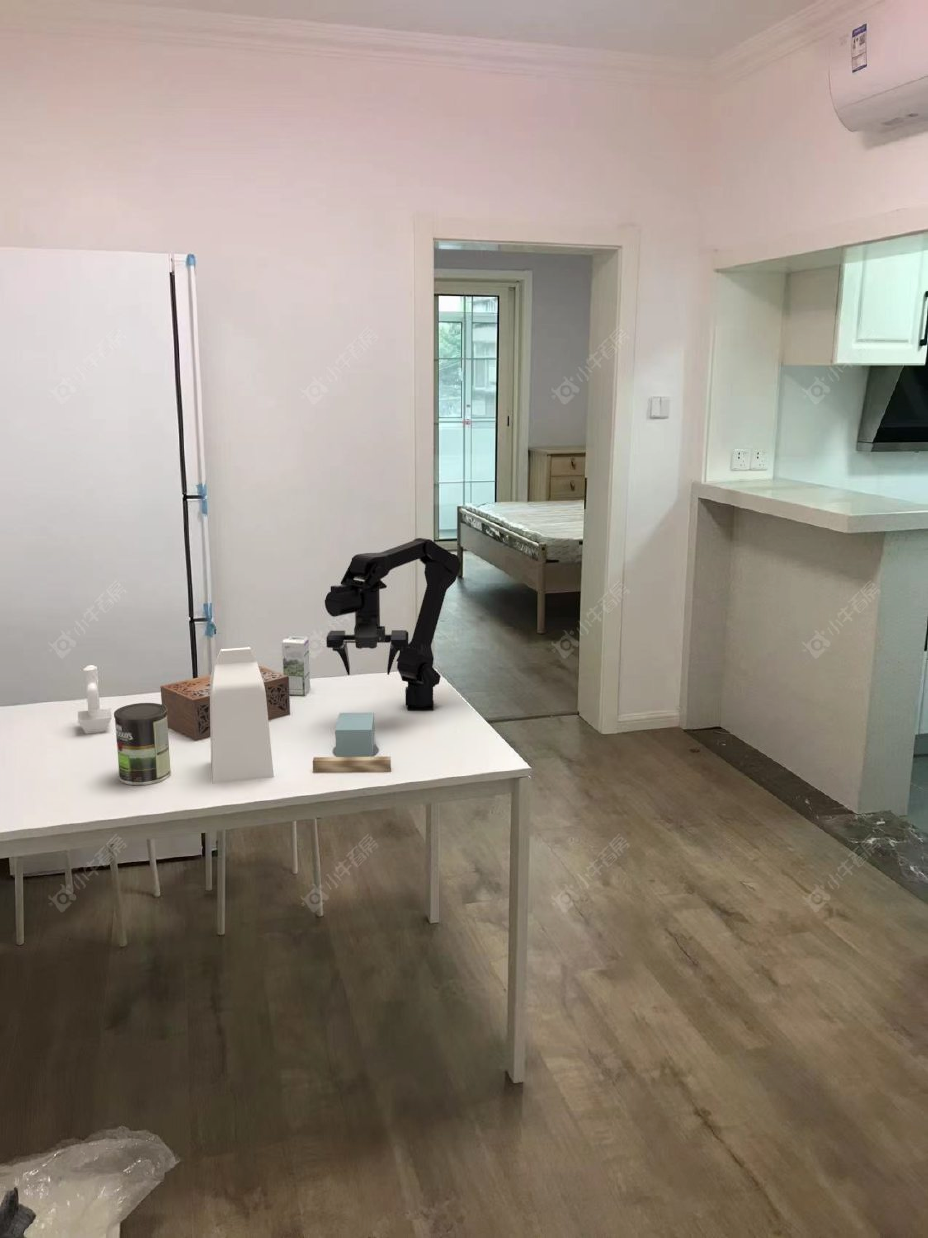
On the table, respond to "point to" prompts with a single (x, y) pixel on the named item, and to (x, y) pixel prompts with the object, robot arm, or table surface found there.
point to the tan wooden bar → (351, 764)
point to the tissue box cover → (193, 702)
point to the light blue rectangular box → (355, 735)
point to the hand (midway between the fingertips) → (368, 674)
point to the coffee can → (142, 743)
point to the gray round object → (373, 750)
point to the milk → (238, 718)
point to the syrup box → (296, 664)
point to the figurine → (93, 705)
